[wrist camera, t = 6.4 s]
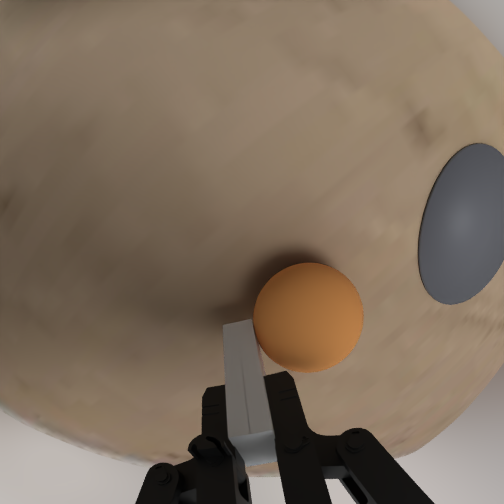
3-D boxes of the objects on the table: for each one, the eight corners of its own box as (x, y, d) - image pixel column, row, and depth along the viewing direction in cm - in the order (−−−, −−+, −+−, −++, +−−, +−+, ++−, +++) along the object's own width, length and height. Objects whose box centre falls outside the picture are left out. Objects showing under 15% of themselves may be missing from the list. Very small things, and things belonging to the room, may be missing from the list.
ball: (246, 359, 16) (313, 412, 11) (218, 281, 13) (300, 330, 9) (312, 311, 18) (381, 344, 14) (300, 235, 16) (385, 258, 12)
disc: (412, 325, 19) (413, 327, 19) (413, 150, 14) (415, 151, 14) (505, 275, 19) (507, 276, 19) (515, 141, 14) (517, 141, 14)
